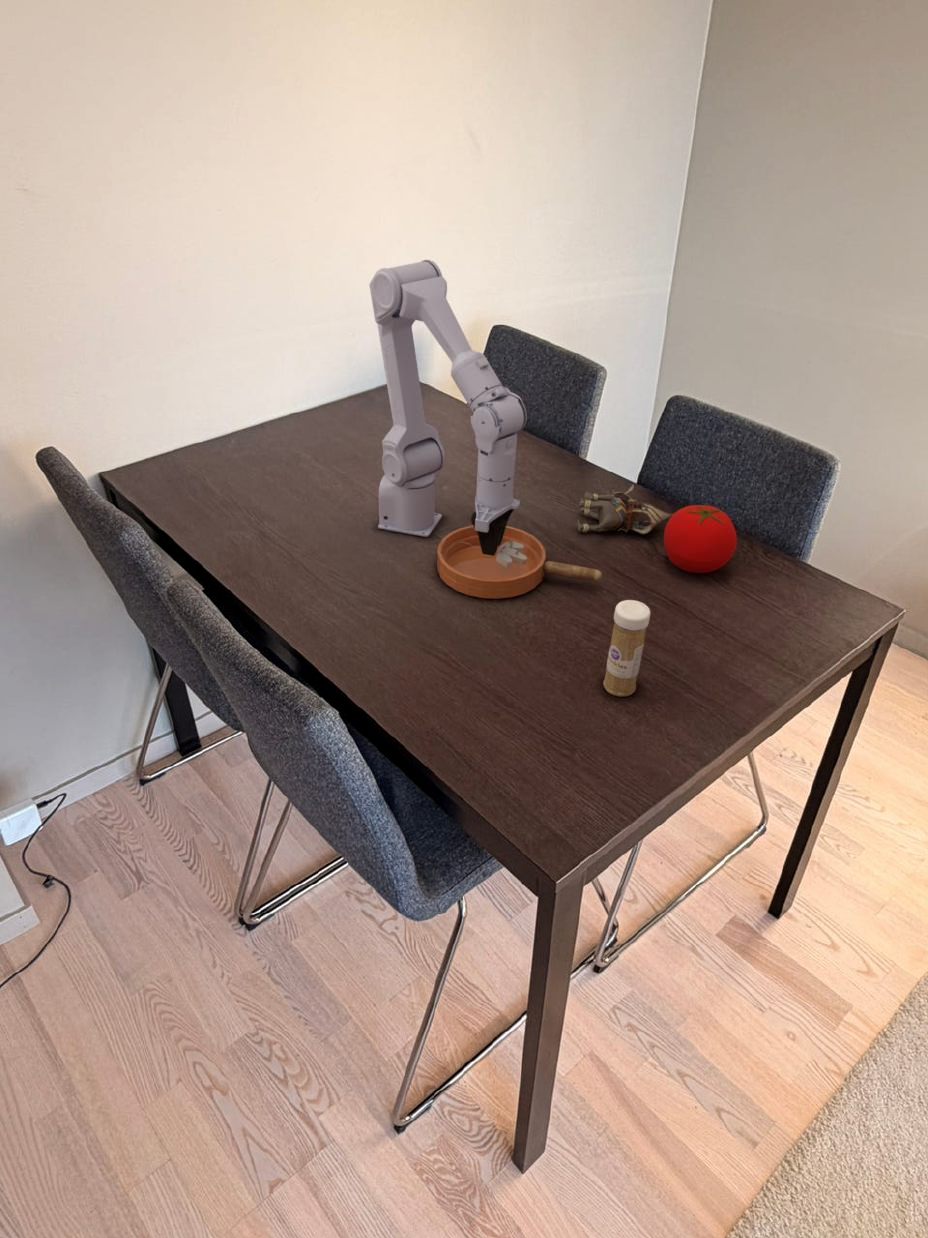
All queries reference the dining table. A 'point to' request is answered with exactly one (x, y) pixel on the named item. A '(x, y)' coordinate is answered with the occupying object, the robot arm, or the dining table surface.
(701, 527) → the tomato
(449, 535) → the pan
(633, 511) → the figurine
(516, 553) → the game controller
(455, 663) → the dining table surface
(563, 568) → the pan handle
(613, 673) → the sprinkles bottle
